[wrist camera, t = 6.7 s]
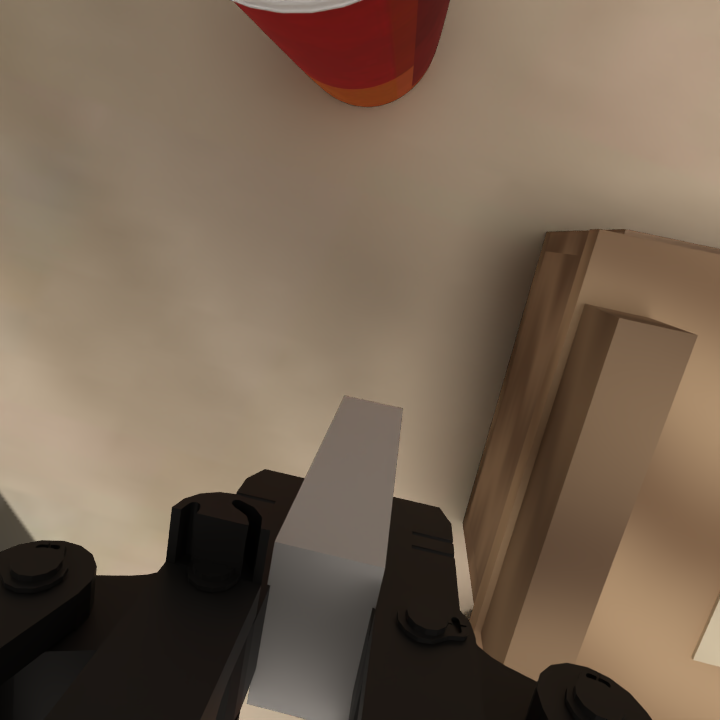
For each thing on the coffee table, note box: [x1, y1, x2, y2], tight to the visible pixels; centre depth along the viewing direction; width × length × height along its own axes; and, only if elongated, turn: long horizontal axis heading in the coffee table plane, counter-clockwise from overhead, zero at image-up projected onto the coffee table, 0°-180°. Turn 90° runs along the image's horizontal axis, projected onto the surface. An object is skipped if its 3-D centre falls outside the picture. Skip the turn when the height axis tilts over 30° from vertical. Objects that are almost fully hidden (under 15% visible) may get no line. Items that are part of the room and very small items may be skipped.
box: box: [463, 229, 720, 604], centre depth 19 cm, size 14×12×9 cm
